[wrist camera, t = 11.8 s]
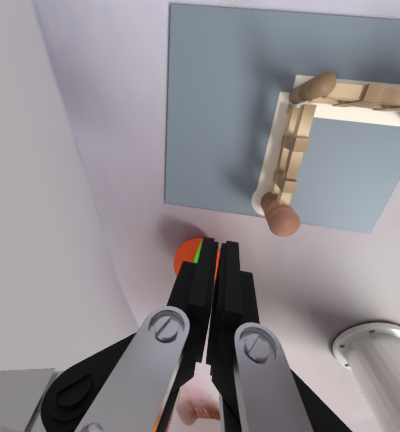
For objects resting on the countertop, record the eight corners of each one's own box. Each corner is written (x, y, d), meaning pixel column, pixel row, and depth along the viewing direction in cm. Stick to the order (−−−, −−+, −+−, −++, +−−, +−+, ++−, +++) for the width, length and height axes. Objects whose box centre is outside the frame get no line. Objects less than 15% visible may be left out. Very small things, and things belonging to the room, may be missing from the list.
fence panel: (280, 107, 21) (298, 101, 16) (309, 109, 21) (338, 103, 16) (258, 211, 27) (266, 234, 21) (281, 213, 26) (295, 238, 21)
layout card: (481, 27, 17) (485, 25, 17) (368, 232, 27) (370, 233, 26) (171, 5, 20) (170, 3, 19) (165, 202, 29) (164, 202, 28)
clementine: (182, 219, 30) (169, 246, 23) (228, 227, 29) (228, 256, 23) (178, 262, 33) (166, 295, 27) (219, 269, 32) (217, 305, 26)
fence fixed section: (442, 92, 19) (540, 77, 13) (424, 125, 21) (506, 126, 15) (293, 78, 20) (321, 58, 14) (285, 110, 22) (307, 105, 16)
